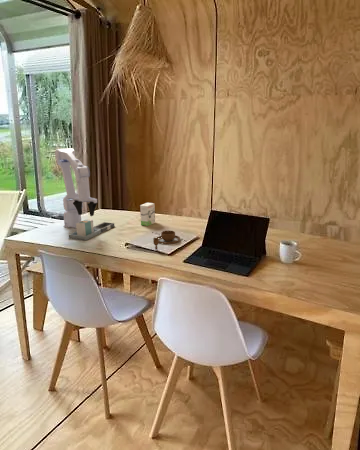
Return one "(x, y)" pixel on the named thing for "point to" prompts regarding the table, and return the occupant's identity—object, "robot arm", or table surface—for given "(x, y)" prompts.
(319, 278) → the table surface
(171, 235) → the place setting
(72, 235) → the tray
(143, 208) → the ink box
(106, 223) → the frame
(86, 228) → the beige teal carton
